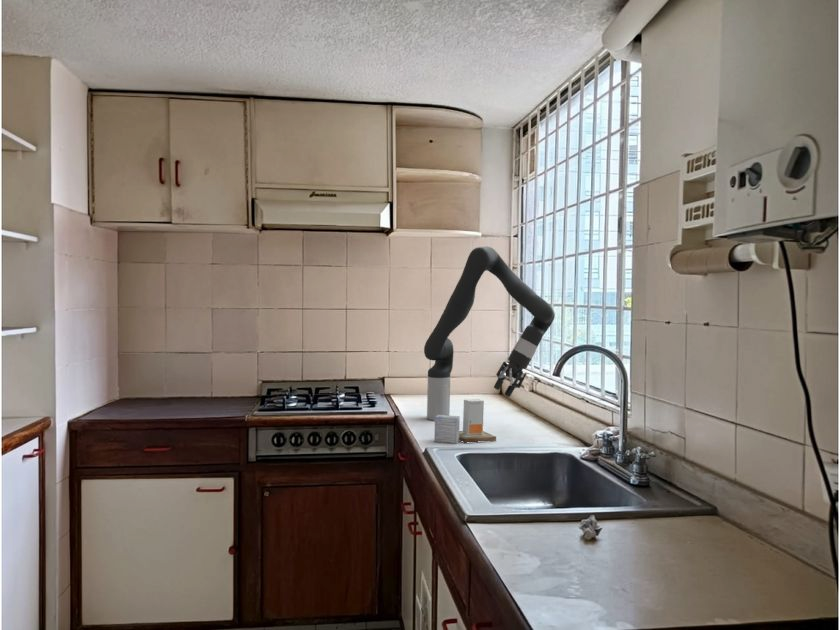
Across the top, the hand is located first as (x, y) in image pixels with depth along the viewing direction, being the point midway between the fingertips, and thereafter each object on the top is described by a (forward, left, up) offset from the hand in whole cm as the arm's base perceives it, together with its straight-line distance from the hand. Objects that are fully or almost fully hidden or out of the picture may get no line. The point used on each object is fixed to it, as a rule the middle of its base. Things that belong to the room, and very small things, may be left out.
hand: (501, 392), depth 223 cm
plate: (+4, -13, -15) cm, 20 cm away
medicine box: (+5, -24, -16) cm, 29 cm away
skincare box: (+4, -13, -14) cm, 19 cm away
